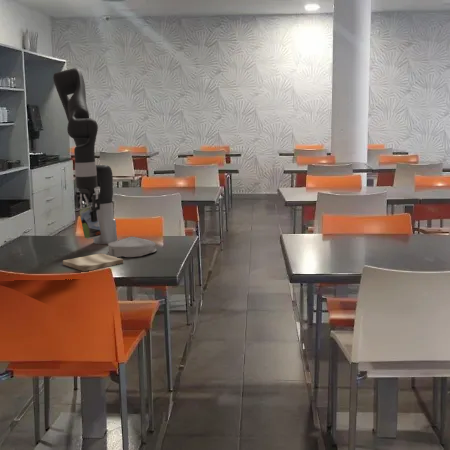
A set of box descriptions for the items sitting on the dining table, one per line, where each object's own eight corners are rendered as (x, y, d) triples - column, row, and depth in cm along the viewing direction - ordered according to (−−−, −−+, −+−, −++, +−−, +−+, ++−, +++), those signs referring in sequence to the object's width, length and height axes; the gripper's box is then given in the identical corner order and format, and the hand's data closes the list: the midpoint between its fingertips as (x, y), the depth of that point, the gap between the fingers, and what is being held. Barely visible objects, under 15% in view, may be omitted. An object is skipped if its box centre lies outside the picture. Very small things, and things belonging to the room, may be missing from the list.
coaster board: (101, 256, 244) (100, 253, 244) (123, 263, 232) (123, 259, 232) (63, 264, 234) (62, 260, 234) (84, 271, 222) (83, 267, 222)
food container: (96, 255, 251) (95, 238, 249) (135, 245, 265) (134, 229, 264) (128, 262, 237) (127, 244, 236) (167, 251, 252) (166, 234, 250)
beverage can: (97, 240, 227) (95, 207, 225) (78, 240, 229) (75, 207, 227) (104, 237, 233) (102, 204, 231) (85, 237, 235) (83, 205, 233)
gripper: (105, 174, 225) (108, 221, 228) (85, 172, 236) (89, 217, 238) (86, 176, 220) (90, 224, 223) (67, 174, 231) (70, 220, 234)
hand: (89, 220), depth 231 cm, fingers closed on beverage can, 6 cm apart
